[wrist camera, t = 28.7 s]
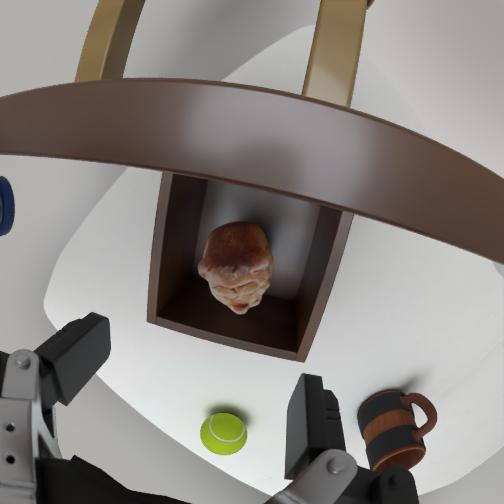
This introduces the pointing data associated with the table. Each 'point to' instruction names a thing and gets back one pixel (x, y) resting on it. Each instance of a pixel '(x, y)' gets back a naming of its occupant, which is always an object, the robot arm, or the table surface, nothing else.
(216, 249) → the figurine
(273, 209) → the chest
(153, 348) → the table surface
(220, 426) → the tennis ball
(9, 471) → the robot arm
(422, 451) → the mug
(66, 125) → the lid
